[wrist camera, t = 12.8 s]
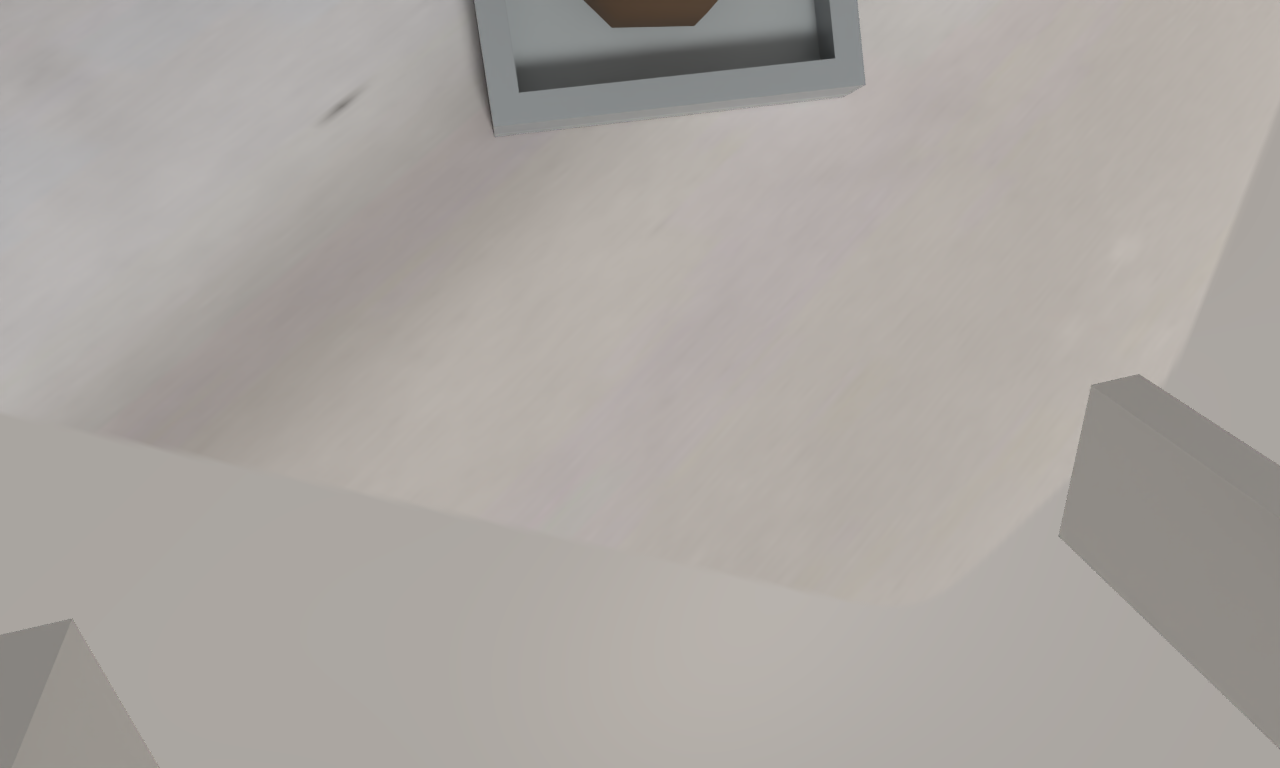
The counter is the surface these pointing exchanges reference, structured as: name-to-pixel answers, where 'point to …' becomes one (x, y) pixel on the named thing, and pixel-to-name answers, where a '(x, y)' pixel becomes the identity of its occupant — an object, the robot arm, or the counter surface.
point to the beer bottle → (651, 12)
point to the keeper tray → (661, 61)
